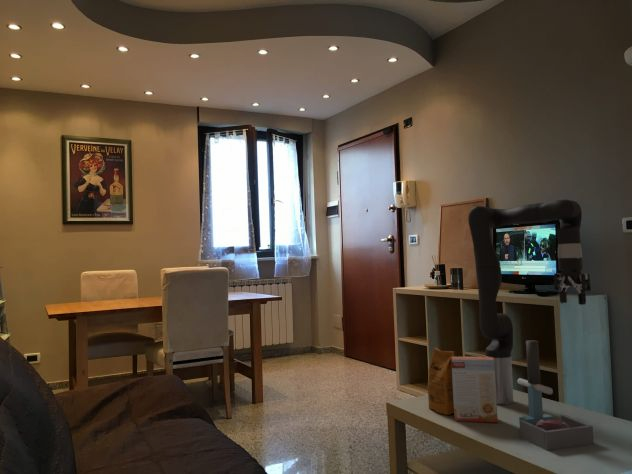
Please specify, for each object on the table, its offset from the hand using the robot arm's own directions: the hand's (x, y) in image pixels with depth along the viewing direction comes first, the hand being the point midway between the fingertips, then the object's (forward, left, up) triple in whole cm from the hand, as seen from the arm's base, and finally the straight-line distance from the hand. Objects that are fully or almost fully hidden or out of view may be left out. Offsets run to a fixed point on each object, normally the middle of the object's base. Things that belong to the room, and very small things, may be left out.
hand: (572, 303), depth 173 cm
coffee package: (-21, -39, -38) cm, 59 cm away
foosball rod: (+9, -24, -38) cm, 46 cm away
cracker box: (-8, -35, -38) cm, 52 cm away
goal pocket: (+17, -24, -38) cm, 48 cm away
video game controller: (+15, -23, -38) cm, 47 cm away
